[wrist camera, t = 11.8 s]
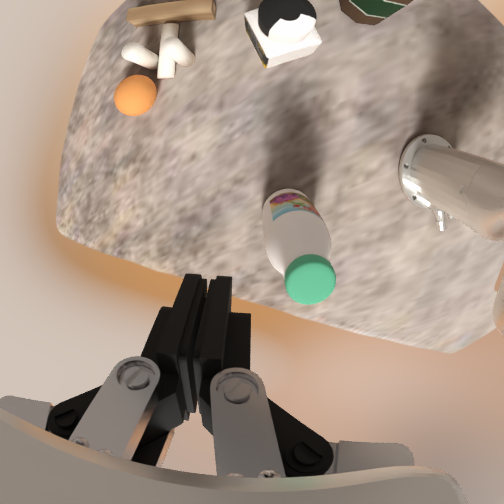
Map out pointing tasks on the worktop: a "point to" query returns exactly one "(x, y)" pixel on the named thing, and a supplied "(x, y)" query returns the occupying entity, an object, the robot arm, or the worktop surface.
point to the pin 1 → (140, 55)
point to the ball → (135, 95)
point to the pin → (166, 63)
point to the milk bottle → (298, 245)
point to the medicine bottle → (282, 30)
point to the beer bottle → (371, 9)
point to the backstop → (172, 12)
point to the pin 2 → (177, 51)
